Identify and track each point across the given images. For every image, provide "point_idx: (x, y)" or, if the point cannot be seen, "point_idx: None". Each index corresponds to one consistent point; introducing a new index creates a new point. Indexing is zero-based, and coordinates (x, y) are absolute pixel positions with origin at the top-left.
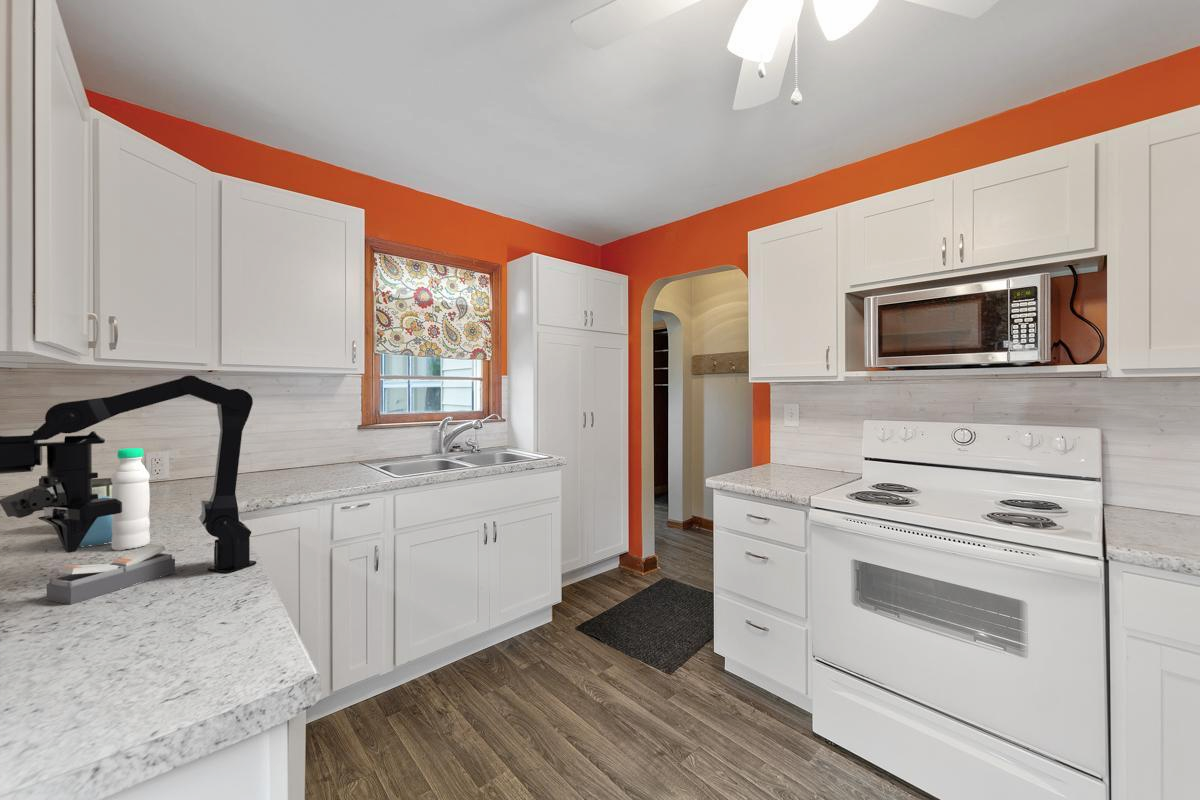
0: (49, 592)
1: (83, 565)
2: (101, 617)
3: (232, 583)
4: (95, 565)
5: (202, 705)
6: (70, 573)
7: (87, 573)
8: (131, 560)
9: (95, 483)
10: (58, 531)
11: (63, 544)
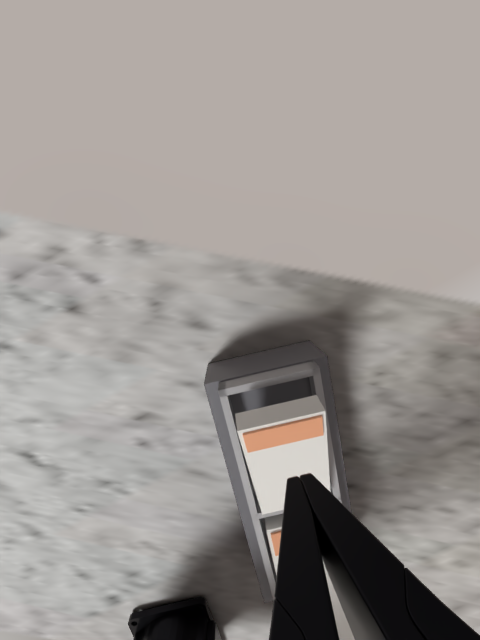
0: (304, 350)
1: (317, 459)
2: (22, 377)
3: (39, 595)
4: None
5: None
6: (243, 412)
7: None
8: (273, 550)
9: None
10: (414, 630)
11: (326, 509)
